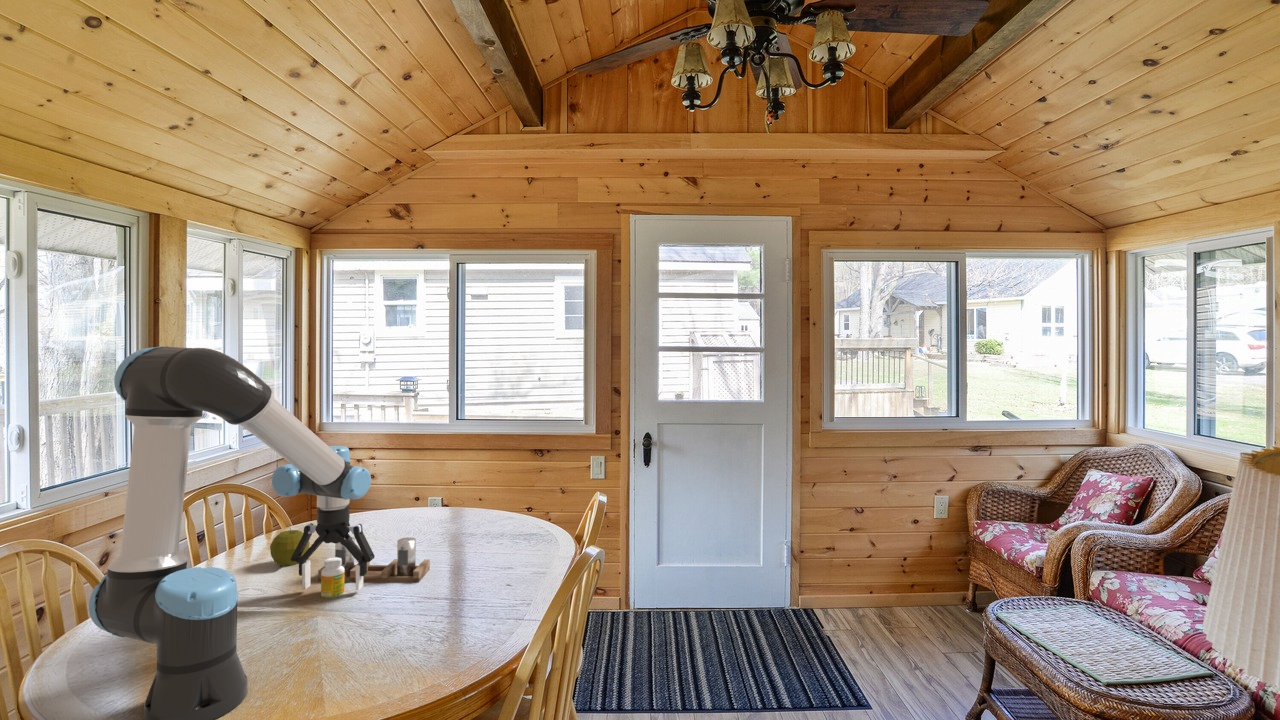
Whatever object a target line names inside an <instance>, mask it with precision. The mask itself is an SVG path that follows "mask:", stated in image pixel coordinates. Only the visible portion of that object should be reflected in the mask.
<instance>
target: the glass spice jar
mask: <svg viewBox="0 0 1280 720" xmlns="http://www.w3.org/2000/svg"><path fill="white" fill-rule="evenodd" d="M416 542H417V540H416V538H415V537H403V538H399V539H397V541H396V543H397V544H396V545H397V547H396V548H397V551H396V559H397V576H413V571H414V570H415V566H417V564H416V563H417V562H416V559H417V557H416V555H417V553H416V551H417V549H416V547H417V545H416V544H417V543H416Z"/></svg>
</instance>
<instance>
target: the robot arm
mask: <svg viewBox="0 0 1280 720" xmlns="http://www.w3.org/2000/svg"><path fill="white" fill-rule="evenodd" d="M113 379H114V381H113V382H114V389H115V391H116V394H117V395H119V396H120V398H121V400H123V401H124V402H125V412H124V413H125V414H124V417H125V418H126V419H127V420H128V421H130V423H132V424H133V426H134V428H133V435H132V446H131V456H130V463H129V471H128V472H129V473H128V481H127V482H128V483H127V489H126V490H127V491H126V499H125V500H126V501H125V508H124V516H123V525H122V534H121V535H122V536H121V543H120V545H121V546H120V551H119V556H117V557H116V558H115V559H114V560H113V561H111V562H110V563H109V564H108V566H107V570H106V571H107V572H106V575H104V576H103V577H102V578H101V579H100V582H99V583H98V584H97V585H95V586H94V588H93V589H92V591H91V593H90V596H89V600H88V613H89V616H90V619H91V620H92V622H93V624H94V625H95V626H96V627H97V628H99V629H100V630H103V631H105V632H107V633H109V634H111V635H112V636H116V637H121V638H130V639H134V640H137V641H142V642H145V643H148V644H149V643H151V644H155V645H156V670H155V675H154V678H153V680H152V683H151V686H150V688H149V690H148V694H147V696H146V699H145V701H144V704H143V709H142V710H143V718H142V719H143V720H216V719H218V718H219V717H222V716H224V715H226V714H228V713H229V712H231V711H232V710H234V709H235V708H236V707H238V706H239V705H240V704H241V703H242V702H243V701H244V700H245V699H246V697H247V695H248V688H249V687H248V685H249V683H248V681H249V680H248V676H247V675H246V673H245V670H244V668H243V665H242V663H241V660H240V658H239V655H238V652H237V650H238V649H237V647H238V646H237V642H238V641H237V638H238V635H237V634H238V600H239V592H238V586H237V579H236V577H235V576H234V574H233V573H231V572H230V571H228V570H226V569H223V568H220V567H216V566H215V567H214V566H206V567H201V566H195V567H189V568H187V567H188V556H187V555H185V554H184V553H183V552H182V551H180V550H179V549H180V542H181V541H180V539H181V530H182V520H183V511H184V510H183V509H184V501H185V491H186V482H187V473H188V463H189V454H190V453H189V452H190V444H191V443H190V442H191V435H192V433H191V432H192V427H193V426H194V425H195V424H196V423H197V422H199V421H200V420H201V419H202V418H203V412H206V413H210V414H213V415H215V416H218V417H219V418H220V419H223V420H224V421H225V422H226V423H228V424H230V425H232V426H233V425H234V426H238V425H240V426H242V428H244V429H245V430H247V431H248V432H249V433H251V434H252V435H253V436H254V437H256V438H257V440H260V441H261V442H262V443H263V444H265V446H267V447H269V449H271V450H272V451H274V452H275V453H276V454H278V455H279V456H280V457H282V458H283V459H284V460H285V461H287V462H288V463H287V464H284V465H279V466H278V467H277V468H276V469H275V470H274V471H273V473H272V476H271V486H272V489H273V491H274V492H275V494H277V495H278V496H279V497H283V498H286V497H295V496H297V495H301V494H303V495H312V496H316V507H317V509H316V523H317V525H315V524H314V523H312V522H311V523H308V524H307V525H305V526H304V527H303V536H302V538H301V540H300V542H299V544H298V546H297V547H296V549H295V551H294V553H293V555H292V557H291V561H296V562H298V576H301V590H302V591H304V590H305V591H306V589H308V588H309V587H311V571H312V570H311V565H312V563H311V560H309V558H310V557H311V556H312V555H313V554H314V553H315V551H316V550H317V549H318V548H319V547H320V546H321V545H322V543H324V544H330V543H331V544H335V543H339V542H340V543H341V544H342V545H344V546H345V547H346V548H347V550H348V551H349V552H350V553H351V554H352V556H353V557H354V560H355V561H357V564H355V565H356V582H355V591H359V590H361V589H362V588H363V587H364V582H363V576H364V575H366V573H367V562H370V563H371V562H372V561H373V560H374V559H375V553H374V552H373V549H372V548H371V546H370V544H369V542H368V540H367V538H366V536H365V534H364V532H363V531H364V530H363V524H362V523H358V524H357V525H350V506H349V504H350V501H351V500H359V499H361V498H363V497H364V496H366V494H367V493H368V491H369V489H370V487H371V483H372V477H371V473H370V471H369V470H368V469H367V468H365V467H361V466H358V465H351V462H352V461H351V455H350V449H349V447H347V446H345V445H328V444H327V443H326V442H324V441H323V440H322V439H321V438H320V437H319V436H318V435H317V434H315V433H314V432H313V431H312V430H311V429H310V428H309V427H308V426H307V425H305V424H304V423H303V422H302V421H301V420H299V419H298V418H297V417H296V416H295V415H294V414H293V413H292V412H290V411H289V410H288V408H286V407H285V406H284V405H282V404H281V403H280V402H279V401H278V400H276V399H275V398H274V396H273V390H272V388H271V387H270V386H269V385H268V384H267V383H266V382H264V380H263V379H261V378H260V377H259V376H258V375H256V373H254V372H253V371H251V370H250V369H249V368H247V367H246V366H245V365H244V364H242V363H241V362H239V361H238V360H236V359H235V358H233V357H231V356H230V355H228V354H225V353H223V352H221V351H219V350H216V349H213V348H207V347H177V346H176V347H175V346H168V345H167V346H162V345H161V346H160V345H159V346H156V347H146V348H142V349H139V350H136V351H134V352H133V353H131V354H130V355H128V356H126V357H125V358H124V359H123V360H122V361H121V363H120V364H119V365H118V367H117V368H116V371H115V374H114V378H113ZM315 532H316V534H317V535H318V537H317V538H316V539H315V540H314V541H313V543H312V544H311V545H309V549H308V550H307V551H306V552H305V553H304V554H303V556H301V555H302V553H303V551H304V549H305V547H306V545H307V543H308V541H309V542H310V539H311V537H312V535H313V533H315ZM350 532H351V534H352V535H353V536H351V535H350V534H349V533H350ZM352 537H353V538H355V540H356V542H355V541H353V540H352ZM344 538H345V539H346V540H345V539H344ZM356 543H357V544H356Z"/></svg>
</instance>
